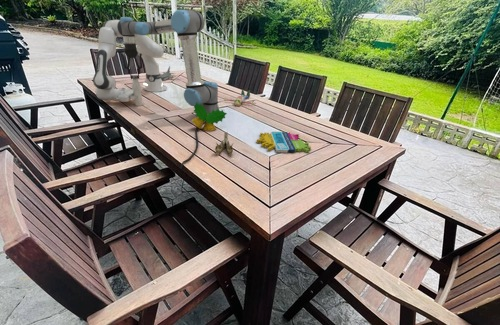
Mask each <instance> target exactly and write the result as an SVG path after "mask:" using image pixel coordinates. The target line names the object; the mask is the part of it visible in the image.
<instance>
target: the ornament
mask: <svg viewBox="0 0 500 325" xmlns="http://www.w3.org/2000/svg"><path fill="white" fill-rule="evenodd" d="M219 110H220V108H219V109H217V110H216V111H214V110H212V112H211V113H208V112H206V109H204V106H201V104H198V103H197V102H196V106H193V112H194V113H195V118H192V119H191V122H192V123H193V125H195V127H198V129H202V130H203V131H206V132H212V131H213V132H214V131H215V130H216V126H215V124H218V123H219V122H223V119H226V115H227V114H228V113H227V112H224V110H223V109H221V110H220V111H219ZM207 113H208V115H207ZM204 122H205V123H204ZM203 123H204V124H203ZM214 123H215V124H214Z"/></svg>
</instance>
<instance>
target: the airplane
mask: <svg viewBox="0 0 500 325" xmlns="http://www.w3.org/2000/svg"><path fill="white" fill-rule="evenodd" d="M170 69H171V66H170V65H169V66H168V69H167V70H166V71H163V72H162V74H161V73H160V76H161V79H162V81H163V80H164V81H166V80H168V79H169V78H170V79H173V78H174V77H175V76H174V75H175V74H176V72H171V70H170Z"/></svg>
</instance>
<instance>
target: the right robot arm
mask: <svg viewBox="0 0 500 325" xmlns="http://www.w3.org/2000/svg"><path fill="white" fill-rule="evenodd" d="M119 20H120V21H121V28H122V34H123V37H122V41H123V47H124V52H120V56H121V58H122V62H123V67H124V69H126V70H127V74H128V75H129V76H130V77H129V78H130V79H131V80H133V79H132V76H131V75H132V70H131V68H130V66H131V59H134V61H135V62H134V63H135V65H136V67H137V68H136V71H137V73H136V74H137V75H138V80H140V74H141V69H143V59H142V57H141V56H142V54H141V53H138V51H137V45H136V44H135V43H136V40H135V34H137V35H147V36H148V35H157V36H158V35H161V34H170V33H176V35H177V36H176V37H177V38H178V39H179V40H180V43H181V44H180V45H181V50H182V55H183V62H184V68H185V74H186V80H187V82H186V83H185V88H186V89H184V92H183V98H184V100H185V102H186V103H187V104H188V105H189V106H191V107H194V106H196V102H197V103H198V104H201V106H204V109H206V112H208V113H211V112H212V110H214V111H216V110H217V109H219V111H221V110H220V108H219V102H218V99H219V98H218V97H219V87H218V83H217V82H214V81H208V80H202V76H201V69H200V60H199V53H198V47H197V41H196V40H197V37H198V33H199V32H202V30H204V27H205V23H206V22H205V18H204V16H203V15H202V13H201V12H199V11H198V10H192V9H191V10H189V9H177V10H175V11H174V12H173V13H172V14H171V18H170V19H169V18H168V19H164V20H157V21H134V20H133V18H132V17H129V16H121V17H120V18H119ZM125 56H126V57H127V62H126V57H125ZM137 56H138V57H139V62H138V59H137ZM208 113H207V115H208ZM203 125H205V121H204V123H203ZM195 127H196V128H195V132H194V133H195V140H196V141H195V142H196V144H195V149H194V151H193V152H192V154H191V155H190V156H189V157H188V158H187V159H184V160H183V161H182V162H181V164H180V166H179V168H180V169H182V168H183V166H184V164H185V163H187V162H189V161H190V160H191V159H192V158H193V157H194V155H195V154H196V152H197V150H198V148H199V138H198V129H199V128H198V127H197V126H195Z"/></svg>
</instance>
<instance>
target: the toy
mask: <svg viewBox="0 0 500 325" xmlns="http://www.w3.org/2000/svg"><path fill="white" fill-rule="evenodd" d="M240 92H241V93H240V95H238V96H237V97H235V99H233V98H230V99H228V98H227V97H226V96H225V97H224V98H223V101H224V102H233V103H232V104H233V105H235V106H242V103H243V104H247V105H252V106H255V105H256V104H257V103H256V102H254V101H253V100H252V101H251V102H250V101H248V100H246V99H248V98H250V97H251V90H250V89H249V90H248V91H247V92H246V93H245V91H244V89H242V90H241V91H240Z"/></svg>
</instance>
